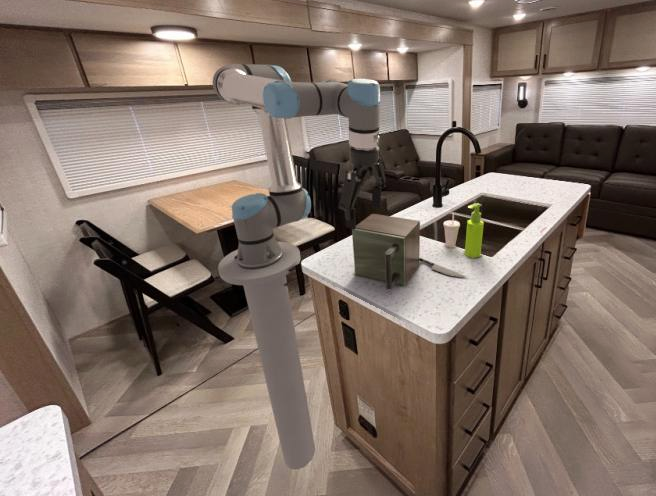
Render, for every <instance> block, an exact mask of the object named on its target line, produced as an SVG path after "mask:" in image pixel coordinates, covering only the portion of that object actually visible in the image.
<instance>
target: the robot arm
mask: <svg viewBox="0 0 656 496" xmlns="http://www.w3.org/2000/svg"><path fill="white" fill-rule="evenodd" d="M380 86H381V85H380V84H379V82H378V81H376V80H374V79H368V78H352V79H349V81H348V82H347V83H342V82H340V81H338V80H336V79H333V80H332V79H324V80H322V81H320V82H319V81H318V82H316V81H315V82H314V81H309V82H307V81H306V82H304V81H303V82H301V81H292V79H291V77H290V75H289V73H288V72H286V70H285V69H284V68H283V67H281V66H280V65H279V66H278V65H274V64H273V65H272V64H251V63H250V64H248V63H247V64H246V63H229V64H226V65H223V66H221V67H220V68H218V69H217V70H216V71H215V72H214V74H213V76H212V88H213V90H214V92H215V94H216V95H217V96H218V97H219V98H220V99H221V100H222V101H224V102H226V103H229V104H232V105H248V106H251V110H252V111H253V112H254V113H256V114H257V115H258V120H259V125H260V129H261V130H260V131H261V135H262V139H263V140H262V141H263V145H264V150H265V155H266V160H267V166H268V170H269V177H270V180H271V184H270V187H269V188H268V194H269V195H267V194H265V193H261V192H260V193H251V194H247V195H244V196H242V197H239V198H237V199H236V200H234V202H233V203H232V205H231V215H232V220H233V223H234V228H235V232H236V236H237V240H238V247H237V249H238V253H237V255H236V256H235V257H234V258H235V259H237V263H238V265H239V266H240V267H241V268H244V269H260V268H264V267H268V266H270V265H273V264H275V263H276V262H278V261H279V260H280V259H281V258H282V255H283V254H282V249H281V247H280V246H279V244H278V242H279V241H278V240H277V239H276V237H275V233H274V229H276V228H279V227H283V226H286V225H287V224H291V223H295V222H300V221H301V220H304V219H306V218H307V217H308V216H309V214H310V213H311V209H312V201H311V197H310V195H309V192H308V190H306V188H303V186H302V184H301V183H300V182H298V181H297V176H296V170H295V162H294V156H293V151H292V147H291V145H292V144H291V140H290V134H289V133H290V132H289V128H288V121H287V119H292V118H304V117H314V116H316V117H317V116H330V115H339V116H341V117H344V118H348V145H349V147H348V148H349V149H348V153H349V161H350V162H351V163H352V165H353V167H352V170H345V172H344V182H343V187H342V190H341V194H340V199H339V203H338V209H340V210H342V211H344V219H345V227H346V228H348V229H351V230H352V229H353V230H355V229H356V225H357V223H356V207H355V205H356V201H357V199H358V196H359V194H360V191H361V189H362V187H364V185H365V182H367V181H368V180H370V181H371V183H372V184H373V186H371V206H372V207H374V208H378V209H381V207H382V189H385V187H386V184H385V183H386V182H387V179H386V175H385V171H384V168H383V165H382V157H381V156H380V147H379V145H380V138H381V137H380V117H381V116H380V115H381V102H382V99H381V87H380Z"/></svg>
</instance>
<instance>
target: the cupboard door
mask: <svg viewBox="0 0 656 496" xmlns="http://www.w3.org/2000/svg"><path fill="white" fill-rule="evenodd" d="M351 236H352V238H351V239H352V251H353V264H354V274H355V275H357V276H362V277H365V278H369V279H374V280H378V281H381V282H385V289H386V290H388V291H389V290H392V289H393V288H394V287H395V285H400V286H405V285H406V284H405V237H401V236H395V235H389V234H384V233H378V232H372V231H367V230H361V229H355V230H353V229H351Z"/></svg>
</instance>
